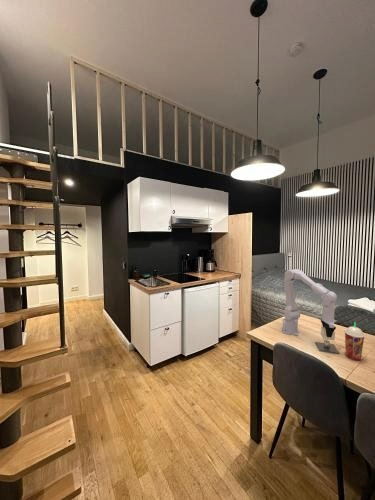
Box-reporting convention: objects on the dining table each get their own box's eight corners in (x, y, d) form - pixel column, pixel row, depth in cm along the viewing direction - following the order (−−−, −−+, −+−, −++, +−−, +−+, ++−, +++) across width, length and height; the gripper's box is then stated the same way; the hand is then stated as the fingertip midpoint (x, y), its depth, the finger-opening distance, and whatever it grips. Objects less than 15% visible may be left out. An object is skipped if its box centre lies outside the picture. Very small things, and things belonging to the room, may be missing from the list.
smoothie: (364, 363, 110) (366, 326, 108) (344, 358, 114) (346, 323, 113) (361, 356, 117) (363, 321, 115) (342, 351, 121) (344, 318, 120)
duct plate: (319, 351, 122) (319, 344, 121) (315, 342, 131) (315, 336, 131) (339, 354, 118) (339, 347, 118) (333, 345, 128) (334, 338, 127)
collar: (323, 338, 123) (323, 330, 122) (320, 334, 128) (321, 326, 127) (334, 340, 121) (335, 332, 120) (331, 336, 126) (331, 328, 126)
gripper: (340, 317, 115) (339, 341, 116) (332, 309, 129) (331, 330, 130) (326, 316, 117) (324, 339, 118) (319, 307, 131) (318, 328, 132)
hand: (327, 334), depth 124 cm, fingers closed on collar, 6 cm apart
